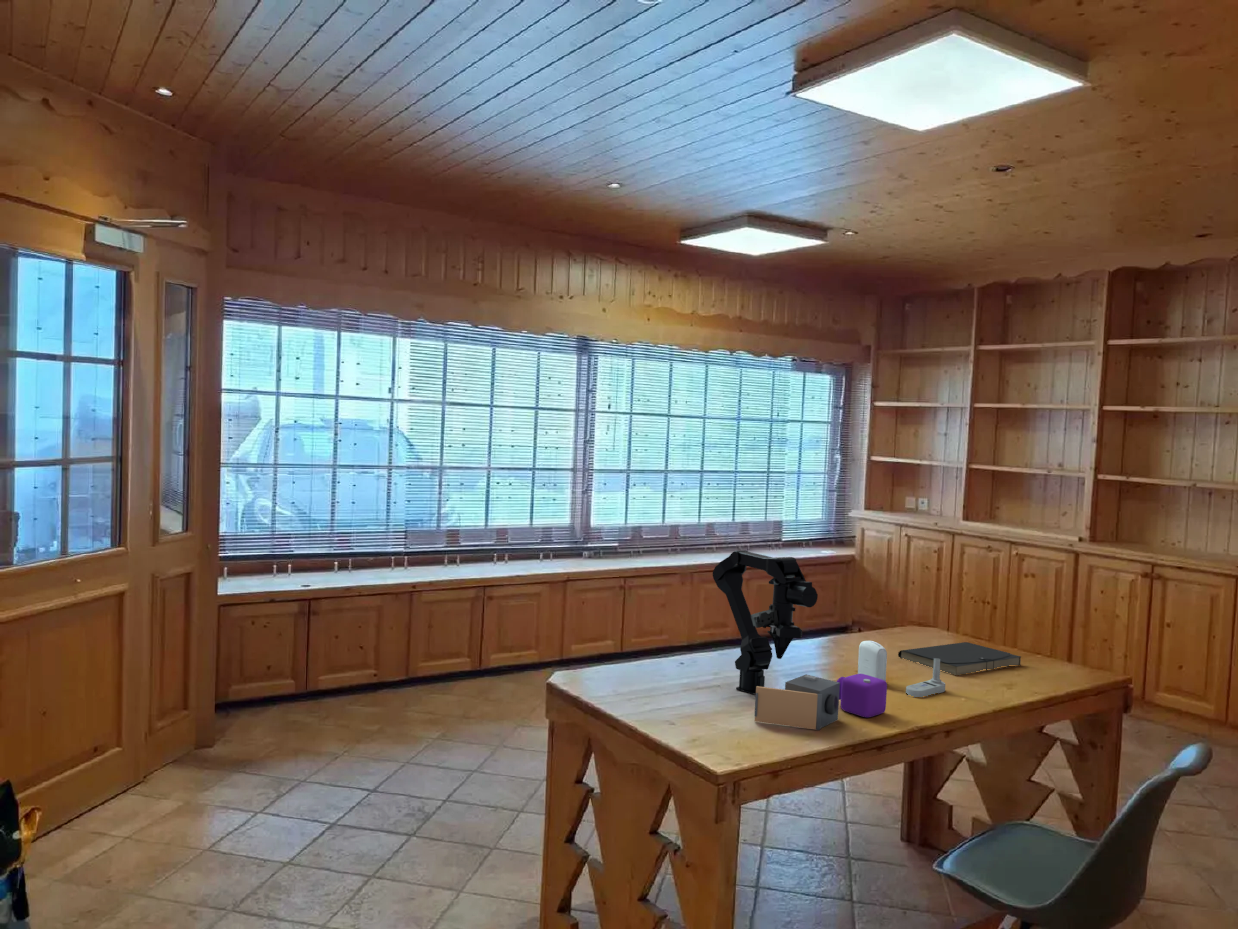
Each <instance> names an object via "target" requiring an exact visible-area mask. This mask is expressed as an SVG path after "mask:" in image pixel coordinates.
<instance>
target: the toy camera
mask: <svg viewBox="0 0 1238 929" xmlns="http://www.w3.org/2000/svg"><path fill="white" fill-rule="evenodd" d="M836 682H839V683H840V691H839V700H840V708H841V710H842V711H845V712H847V713H850V714H854V715H856V716H858V717H859V716H860V717H862V718H866V719H867V718H872V717H875V716H878V715H881V714H883V713H885V712H886V707H887V694H888V693H887V691H888V684H887V681H884V680H882V679H879V678H876V677H872V676H869V675H865V674H858V673H857V674H856V673H855V674H852V675H849V676H846V677H845V676H840V677H839V678H838V679H837V680H836Z"/></svg>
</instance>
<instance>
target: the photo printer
mask: <svg viewBox="0 0 1238 929" xmlns="http://www.w3.org/2000/svg"><path fill="white" fill-rule="evenodd" d="M887 659H888V652H887V650H886V648H885V647H884V646H883V645H882V644H880V643H879V642H876V641H873V640H863V641H861V642H860V644H859V647H858V664H857V674H865V675H869V676H872V677H876V678H879V679H882V680H884V681H886V680H887V661H888V660H887ZM886 682H887V681H886Z"/></svg>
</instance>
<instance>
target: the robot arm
mask: <svg viewBox="0 0 1238 929" xmlns="http://www.w3.org/2000/svg"><path fill="white" fill-rule="evenodd" d="M747 567H748V568H749V567H750V568H753V569H756V570H762V571H764V572H766V574H767V575H768V576H770V577H772V579H770V580H769V581H768V584H769V585H773V592H772V603H771V604H769V605H768V609H767V610H763V611H759V612H755V613H753V614H751V612H750V608H749V606H748V603H747V600H746V598H745V595H744V592H743V590H742V589H743V588H742V587H743V585H744V584H743V583H744V578H743V575H744V574H745V573H746V571H747ZM712 579H713V581H714V583H715V584H716V586H717V588H718V589H719V590H720V591H721V592H722V593H723V594H724V595H725V596H726V598H727V602H728V604H729V607H730V610H731V613H732V615H733V618H734V620H735V624H736V627H737V629H738V632H739V635H740V638H741V644H740V649H739V650H740V655H739V657H738V658H736V659H735V661H734V666H735V669H736V670H739V682H738V686H736V688H735V689H736V690H738V691H741V692H744V693H749V694H752V695H756V686H759V687H765V684H766V683H765V679H766V677H765V675H764V673H765V672H764V670H768V669H769V667H770V664H771V662H772V658H773V651H772V650H773V648H772V646H771V645H770V641H769V638H768V637H767V636H762V635H760V634H759V632H758V629H759V628H763V629H766V628H769V630H767V631H766V632H767V634H769V636H771V637H772V639H773V644H774V650H775V654H776V659H778V660H781V659H782V658H783V656H784V655H785V652H786V651H787V649H788V647H789V646H790V645H791V643H792V641H793V639H795V638H796V639H801V638H802V637H803V630H802V629H801V628H800V627H799V626H797V625H795V622H793V614H794V612H796V607H795V606H794V605H796V606H800V607H804V608H812V607H814V606H815V605H816V604H817V602H818V592H817V590H816V588H815V587H813V582H812V581H807V580H806V578H805V575H804V574H803V571H802V570H801V567H800V566H799V563H798V562H797V559H796V558H795V557H794V556H782V557H777V556H775V557H773V556H768V555H765V554H760V553H756V552H751V551H748V550H746V549H743V550H734V551H733V552H731V554H729V555H728V556H727V557H726V558H724V559H723V560H721V561H720V562H719V563H718V564H717V565H715V566H714V568H713V570H712Z"/></svg>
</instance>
